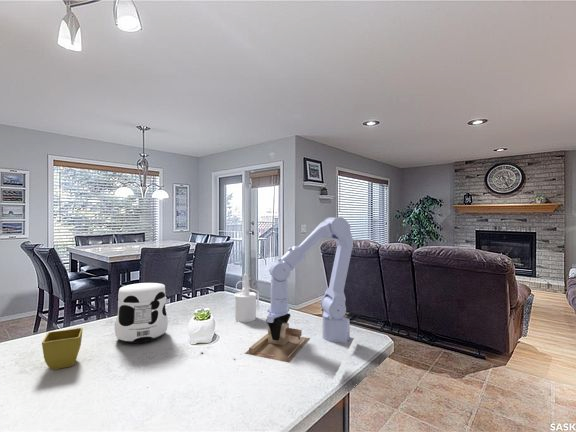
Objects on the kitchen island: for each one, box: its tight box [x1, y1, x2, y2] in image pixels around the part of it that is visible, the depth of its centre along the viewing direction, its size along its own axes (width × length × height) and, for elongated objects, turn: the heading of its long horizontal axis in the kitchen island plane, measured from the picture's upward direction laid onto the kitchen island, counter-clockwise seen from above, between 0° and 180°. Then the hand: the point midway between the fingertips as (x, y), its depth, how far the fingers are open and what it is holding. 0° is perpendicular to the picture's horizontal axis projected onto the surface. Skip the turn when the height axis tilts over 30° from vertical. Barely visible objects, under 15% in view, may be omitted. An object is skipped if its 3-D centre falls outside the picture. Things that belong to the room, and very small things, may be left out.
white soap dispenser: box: [233, 273, 260, 324], centre depth 132 cm, size 10×9×20 cm
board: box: [244, 333, 311, 363], centre depth 105 cm, size 15×20×3 cm
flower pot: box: [41, 327, 84, 371], centre depth 93 cm, size 9×9×9 cm
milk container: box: [114, 282, 169, 344], centre depth 114 cm, size 17×17×18 cm
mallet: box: [267, 322, 303, 345], centre depth 107 cm, size 11×4×6 cm, turn 68°
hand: (278, 337), depth 108 cm, fingers closed on mallet, 4 cm apart
